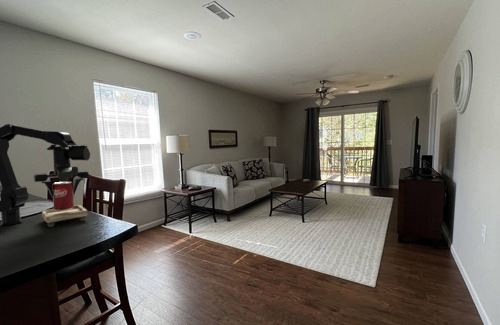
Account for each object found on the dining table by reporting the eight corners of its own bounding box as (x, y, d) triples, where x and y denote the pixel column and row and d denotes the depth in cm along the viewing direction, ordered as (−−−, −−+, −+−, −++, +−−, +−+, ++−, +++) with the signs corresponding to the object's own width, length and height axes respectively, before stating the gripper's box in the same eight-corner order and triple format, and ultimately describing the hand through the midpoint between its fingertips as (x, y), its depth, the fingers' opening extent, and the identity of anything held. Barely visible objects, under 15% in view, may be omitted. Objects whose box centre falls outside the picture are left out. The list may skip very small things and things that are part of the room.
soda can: (62, 211, 100) (61, 184, 99) (49, 210, 102) (47, 183, 101) (78, 207, 107) (77, 181, 106) (65, 206, 109) (64, 181, 108)
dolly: (42, 221, 104) (41, 210, 104) (80, 214, 115) (79, 204, 114) (47, 228, 95) (46, 217, 95) (87, 220, 105) (87, 210, 105)
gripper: (35, 162, 90) (37, 201, 92) (91, 160, 104) (93, 194, 105) (32, 160, 98) (34, 197, 99) (85, 159, 112) (86, 191, 113)
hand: (63, 195), depth 104 cm, fingers closed on soda can, 7 cm apart
